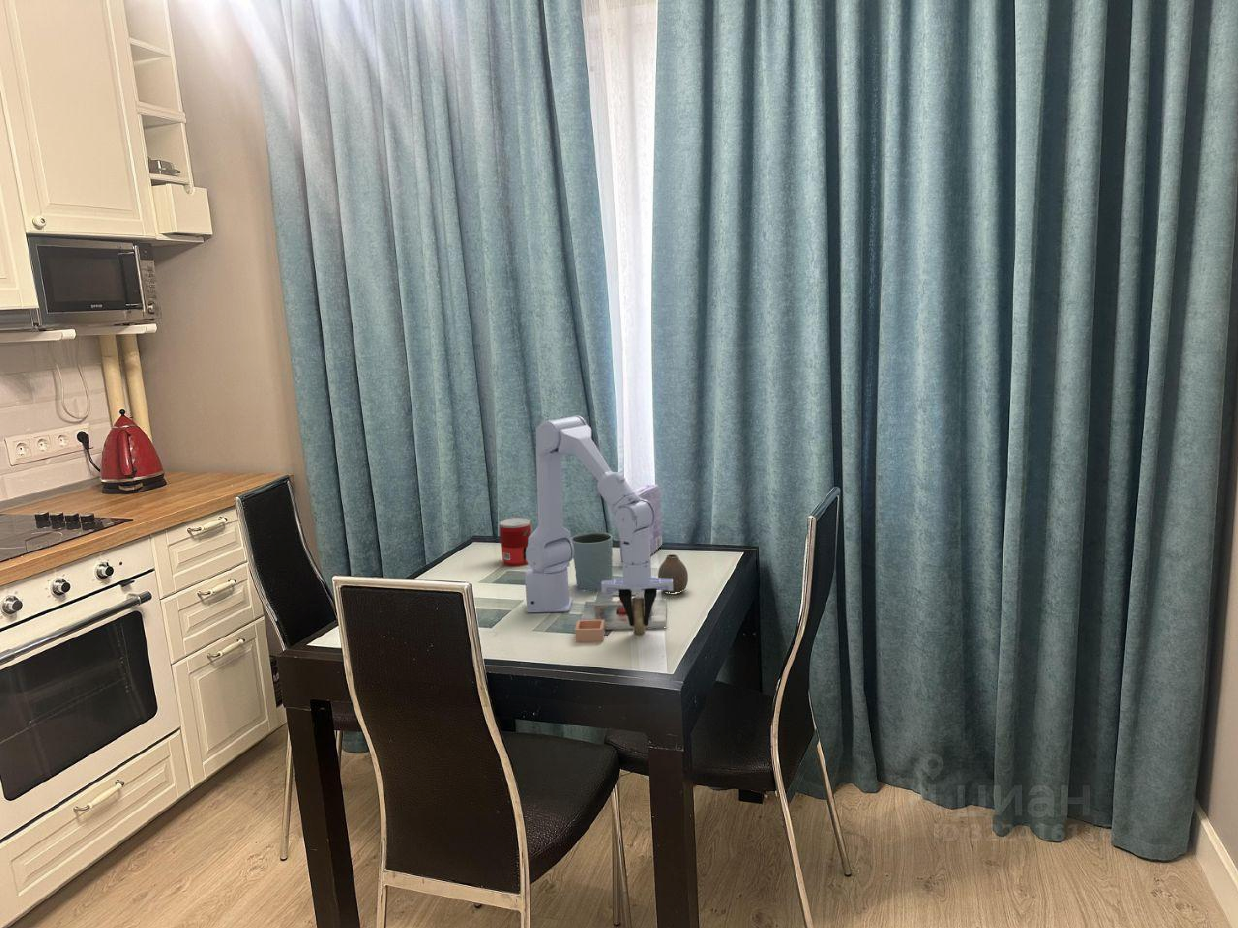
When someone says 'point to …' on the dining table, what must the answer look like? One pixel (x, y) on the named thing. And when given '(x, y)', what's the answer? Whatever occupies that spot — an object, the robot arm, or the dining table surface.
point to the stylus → (638, 616)
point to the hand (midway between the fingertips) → (639, 624)
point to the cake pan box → (655, 530)
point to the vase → (674, 573)
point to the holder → (589, 630)
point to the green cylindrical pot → (592, 559)
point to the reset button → (621, 609)
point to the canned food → (514, 541)
